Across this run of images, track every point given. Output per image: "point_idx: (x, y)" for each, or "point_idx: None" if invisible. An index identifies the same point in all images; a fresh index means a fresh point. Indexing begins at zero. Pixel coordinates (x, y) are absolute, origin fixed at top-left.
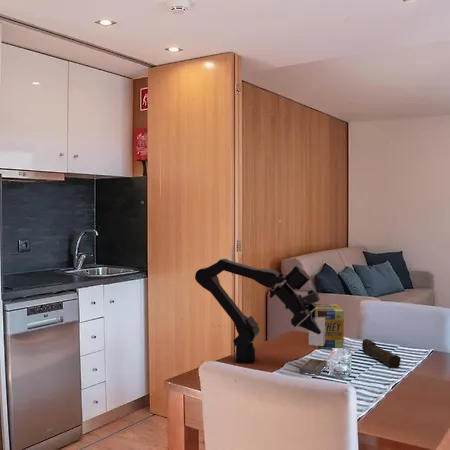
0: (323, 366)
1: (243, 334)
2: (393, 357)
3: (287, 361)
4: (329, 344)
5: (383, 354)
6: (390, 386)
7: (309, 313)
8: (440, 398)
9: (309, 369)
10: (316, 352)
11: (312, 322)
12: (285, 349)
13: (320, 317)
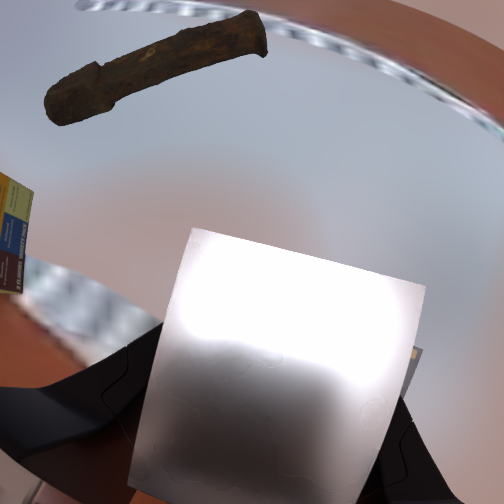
0: None
1: None
2: (261, 21)
3: None
4: (13, 239)
5: (212, 42)
6: (456, 101)
7: (53, 500)
8: (483, 43)
9: (408, 383)
10: (50, 304)
11: (433, 467)
12: None
13: (170, 324)
